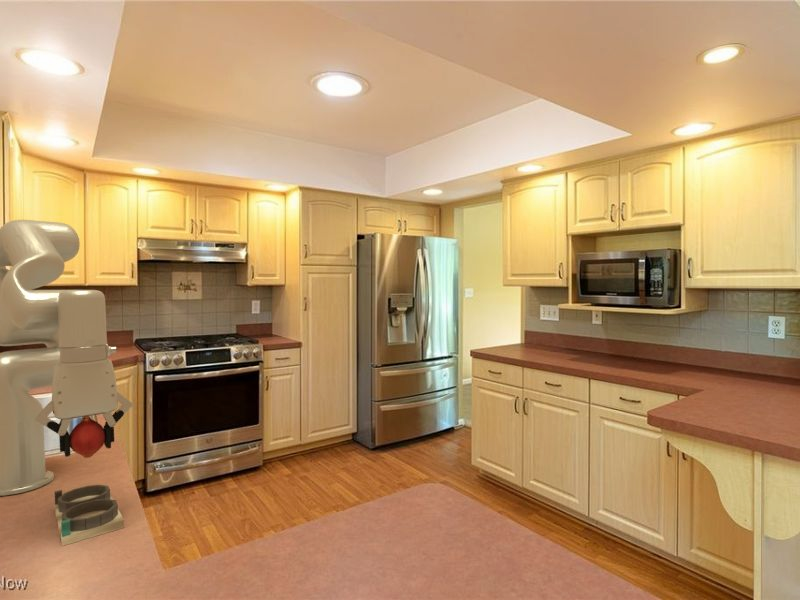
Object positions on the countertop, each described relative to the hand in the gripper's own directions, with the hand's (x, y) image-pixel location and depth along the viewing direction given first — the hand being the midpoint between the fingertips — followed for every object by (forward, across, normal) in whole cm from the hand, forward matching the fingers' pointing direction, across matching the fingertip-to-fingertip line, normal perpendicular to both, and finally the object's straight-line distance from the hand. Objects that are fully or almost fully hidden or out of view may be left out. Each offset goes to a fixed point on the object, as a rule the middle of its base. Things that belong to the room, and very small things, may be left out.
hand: (87, 449), depth 90 cm
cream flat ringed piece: (+15, 0, -5) cm, 16 cm away
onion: (+2, 0, 0) cm, 2 cm away
